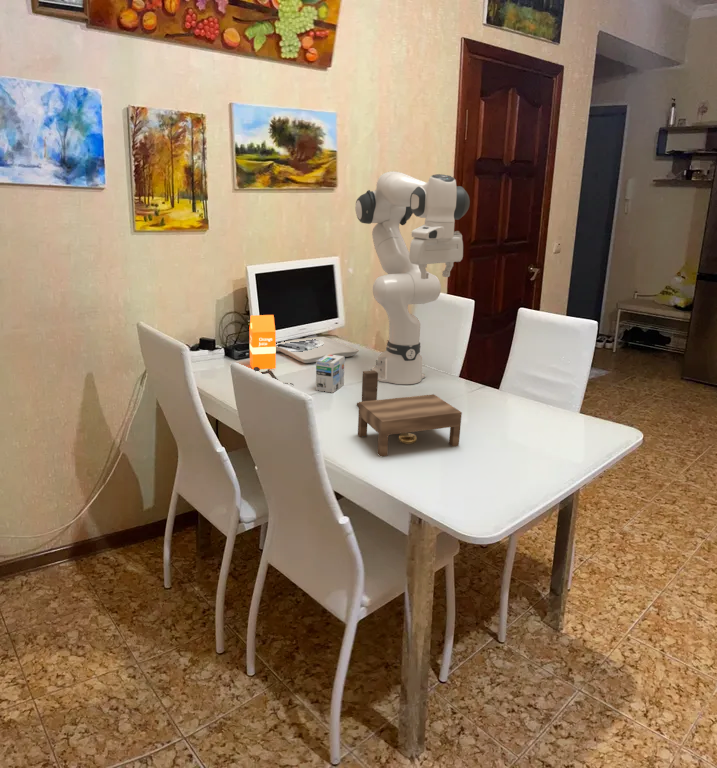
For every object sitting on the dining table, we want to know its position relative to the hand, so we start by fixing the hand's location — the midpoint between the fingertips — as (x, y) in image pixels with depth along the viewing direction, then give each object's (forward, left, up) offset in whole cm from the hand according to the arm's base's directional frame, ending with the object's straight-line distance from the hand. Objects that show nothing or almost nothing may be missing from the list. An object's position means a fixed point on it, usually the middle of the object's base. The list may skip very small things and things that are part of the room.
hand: (435, 277), depth 195 cm
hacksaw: (-44, -39, -43) cm, 73 cm away
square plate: (-71, -14, -43) cm, 84 cm away
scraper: (+5, -18, -42) cm, 46 cm away
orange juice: (-59, -39, -42) cm, 83 cm away
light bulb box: (-27, -23, -42) cm, 56 cm away
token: (+24, -18, -42) cm, 52 cm away
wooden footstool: (+24, -18, -42) cm, 52 cm away
